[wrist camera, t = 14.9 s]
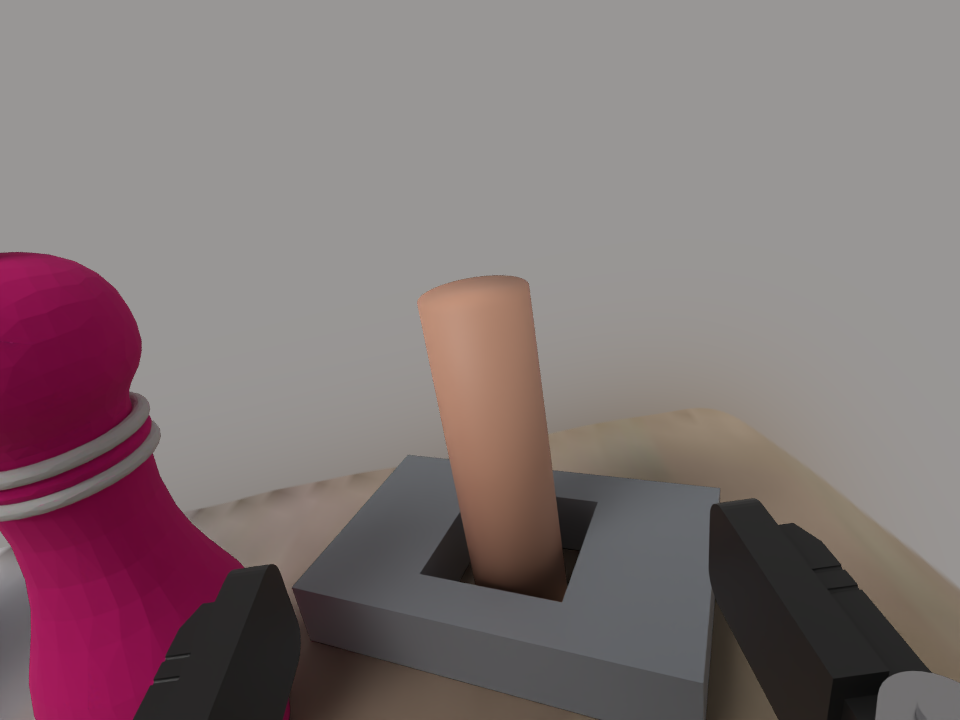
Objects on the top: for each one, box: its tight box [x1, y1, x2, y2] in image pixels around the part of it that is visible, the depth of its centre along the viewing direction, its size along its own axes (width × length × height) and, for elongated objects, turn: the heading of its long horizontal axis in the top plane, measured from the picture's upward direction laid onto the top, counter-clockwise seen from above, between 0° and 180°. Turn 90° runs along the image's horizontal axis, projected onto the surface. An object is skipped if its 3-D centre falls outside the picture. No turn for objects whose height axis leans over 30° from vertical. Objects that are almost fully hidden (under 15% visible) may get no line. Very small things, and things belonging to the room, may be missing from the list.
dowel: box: [417, 275, 567, 602], centre depth 24 cm, size 4×4×14 cm
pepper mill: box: [0, 252, 290, 720], centre depth 18 cm, size 7×7×20 cm
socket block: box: [292, 455, 720, 720], centre depth 26 cm, size 16×10×3 cm, turn 67°
